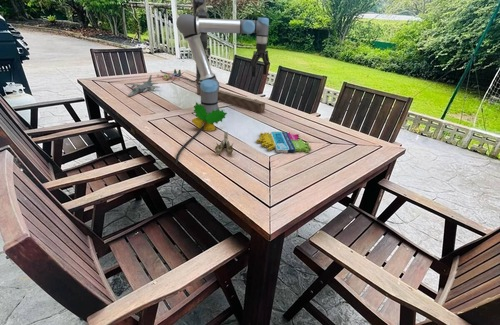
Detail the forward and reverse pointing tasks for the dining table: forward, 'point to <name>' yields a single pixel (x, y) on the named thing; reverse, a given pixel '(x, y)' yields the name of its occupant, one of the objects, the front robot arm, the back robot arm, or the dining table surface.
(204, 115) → the ornament
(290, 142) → the pack of gloves
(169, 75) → the toy
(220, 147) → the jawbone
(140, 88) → the airplane
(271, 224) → the dining table surface
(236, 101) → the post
